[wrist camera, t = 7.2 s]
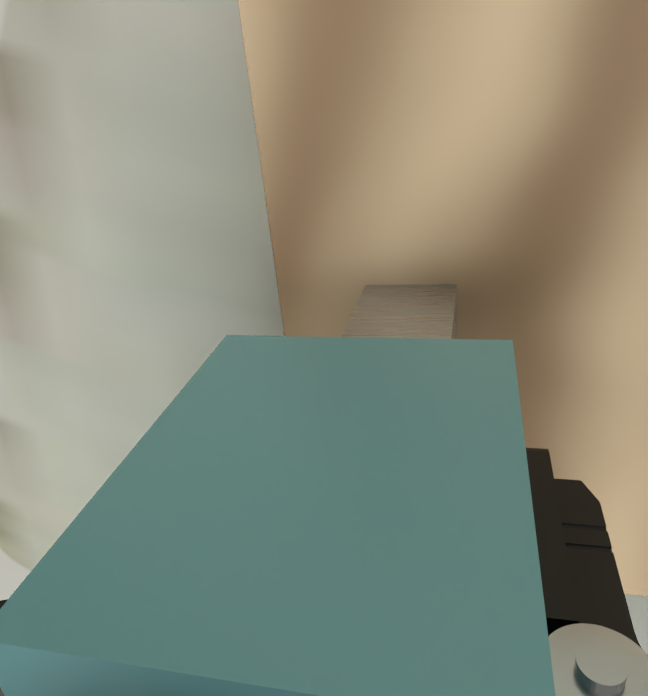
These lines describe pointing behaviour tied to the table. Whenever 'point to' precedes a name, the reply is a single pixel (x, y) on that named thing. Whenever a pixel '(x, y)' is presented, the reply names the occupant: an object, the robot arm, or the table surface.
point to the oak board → (477, 199)
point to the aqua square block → (303, 536)
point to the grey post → (405, 312)
